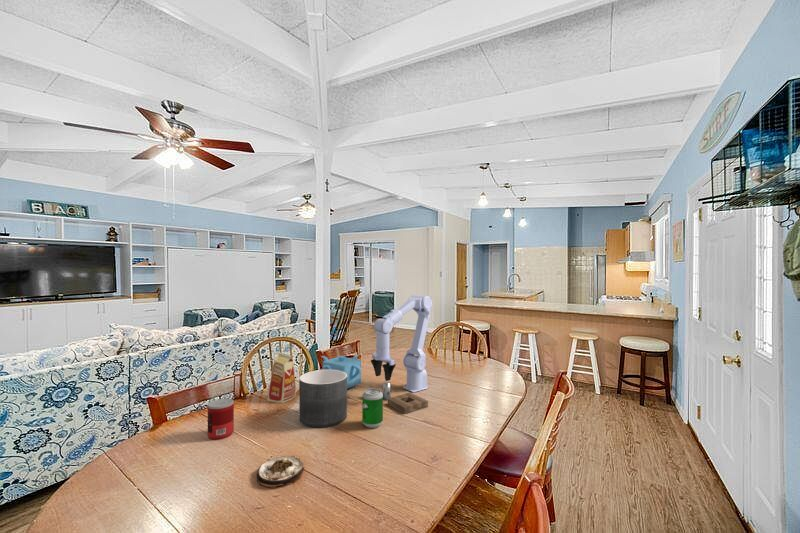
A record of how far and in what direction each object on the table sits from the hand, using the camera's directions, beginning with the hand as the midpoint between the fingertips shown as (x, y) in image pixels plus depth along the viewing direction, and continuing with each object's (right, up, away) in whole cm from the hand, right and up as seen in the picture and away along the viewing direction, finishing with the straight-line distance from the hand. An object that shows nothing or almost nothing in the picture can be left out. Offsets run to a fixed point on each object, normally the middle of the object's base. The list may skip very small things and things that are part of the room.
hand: (382, 378), depth 152 cm
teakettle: (-21, -9, +16) cm, 28 cm away
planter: (-22, -10, -18) cm, 30 cm away
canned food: (-54, -9, -32) cm, 63 cm away
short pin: (-5, -9, +1) cm, 11 cm away
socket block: (+11, -9, -7) cm, 16 cm away
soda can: (-3, -10, -24) cm, 26 cm away
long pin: (+2, -9, 0) cm, 10 cm away
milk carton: (-43, -9, 0) cm, 44 cm away
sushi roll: (-26, -10, -55) cm, 61 cm away
